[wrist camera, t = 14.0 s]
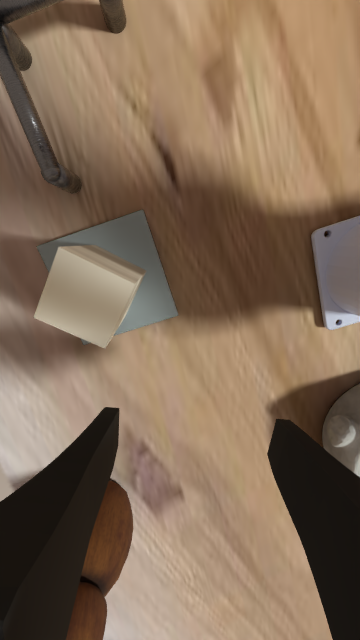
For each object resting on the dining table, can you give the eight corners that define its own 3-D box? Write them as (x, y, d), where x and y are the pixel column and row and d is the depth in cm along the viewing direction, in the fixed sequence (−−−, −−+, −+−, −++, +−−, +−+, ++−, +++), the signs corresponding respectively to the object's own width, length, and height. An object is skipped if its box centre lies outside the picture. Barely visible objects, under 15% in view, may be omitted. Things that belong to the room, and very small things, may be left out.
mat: (143, 210, 17) (142, 209, 17) (178, 313, 20) (178, 315, 19) (39, 246, 18) (36, 246, 18) (85, 343, 20) (83, 345, 20)
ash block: (95, 244, 18) (58, 246, 12) (146, 270, 18) (134, 284, 13) (75, 294, 19) (33, 317, 13) (125, 317, 19) (105, 348, 14)
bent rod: (121, 2, 14) (105, -74, 11) (167, 160, 17) (166, 139, 13) (7, 49, 15) (-44, -10, 11) (68, 195, 17) (41, 184, 14)
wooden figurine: (97, 460, 24) (-13, 780, 10) (147, 485, 25) (113, 803, 11) (64, 503, 26) (-72, 832, 11) (112, 524, 27) (44, 847, 13)
